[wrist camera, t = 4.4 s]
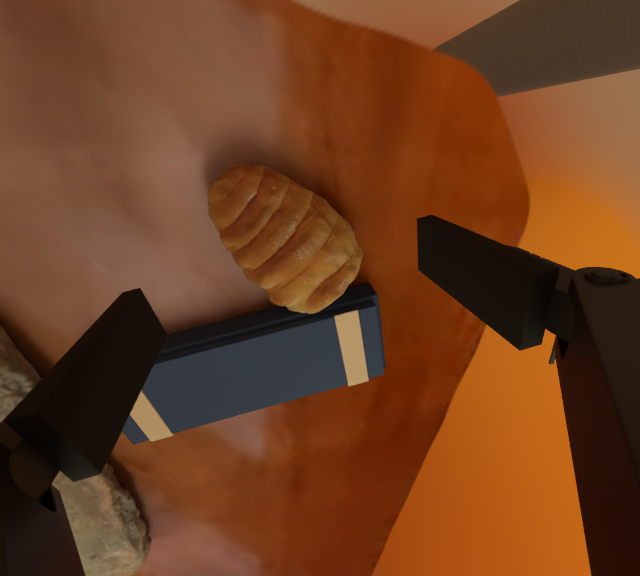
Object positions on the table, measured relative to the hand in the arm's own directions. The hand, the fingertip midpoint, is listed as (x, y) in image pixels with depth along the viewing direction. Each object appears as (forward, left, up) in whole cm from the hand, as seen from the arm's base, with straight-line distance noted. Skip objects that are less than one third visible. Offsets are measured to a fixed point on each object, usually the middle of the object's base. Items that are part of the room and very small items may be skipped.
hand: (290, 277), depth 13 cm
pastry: (0, 0, -6) cm, 6 cm away
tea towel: (+5, +8, -6) cm, 11 cm away
